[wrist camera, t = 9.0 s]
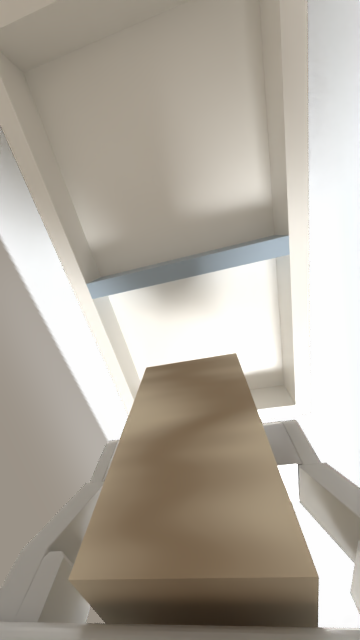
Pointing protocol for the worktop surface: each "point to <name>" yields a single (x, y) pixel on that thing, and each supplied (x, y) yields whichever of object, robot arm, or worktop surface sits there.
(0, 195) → the worktop surface
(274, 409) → the divided tray
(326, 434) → the worktop surface
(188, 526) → the block
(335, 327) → the worktop surface
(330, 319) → the worktop surface
